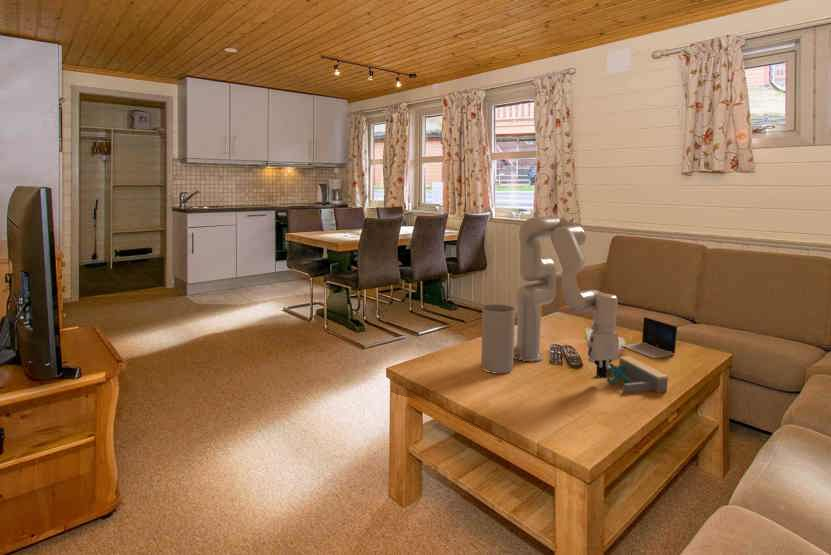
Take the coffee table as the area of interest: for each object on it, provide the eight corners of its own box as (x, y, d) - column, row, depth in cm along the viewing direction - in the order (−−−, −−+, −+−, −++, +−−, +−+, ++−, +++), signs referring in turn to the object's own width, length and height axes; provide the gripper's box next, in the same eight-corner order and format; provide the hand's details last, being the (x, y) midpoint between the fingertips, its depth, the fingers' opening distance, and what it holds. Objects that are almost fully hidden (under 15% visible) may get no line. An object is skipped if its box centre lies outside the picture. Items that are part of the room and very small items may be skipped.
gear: (637, 385, 183) (617, 365, 183) (625, 396, 183) (605, 376, 183) (626, 377, 194) (607, 358, 194) (614, 388, 194) (596, 369, 194)
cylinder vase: (475, 366, 207) (476, 306, 202) (501, 362, 211) (503, 303, 207) (491, 376, 195) (493, 313, 191) (519, 372, 200) (521, 310, 196)
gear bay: (629, 395, 177) (630, 379, 176) (593, 373, 199) (594, 358, 198) (667, 391, 181) (668, 376, 180) (627, 369, 202) (628, 355, 201)
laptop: (621, 347, 231) (623, 319, 229) (642, 343, 236) (644, 316, 234) (653, 359, 215) (655, 329, 212) (675, 355, 219) (677, 326, 217)
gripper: (591, 332, 178) (588, 382, 181) (629, 329, 182) (625, 378, 185) (580, 326, 185) (577, 374, 189) (616, 324, 189) (612, 371, 192)
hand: (601, 376), depth 187 cm, fingers closed
